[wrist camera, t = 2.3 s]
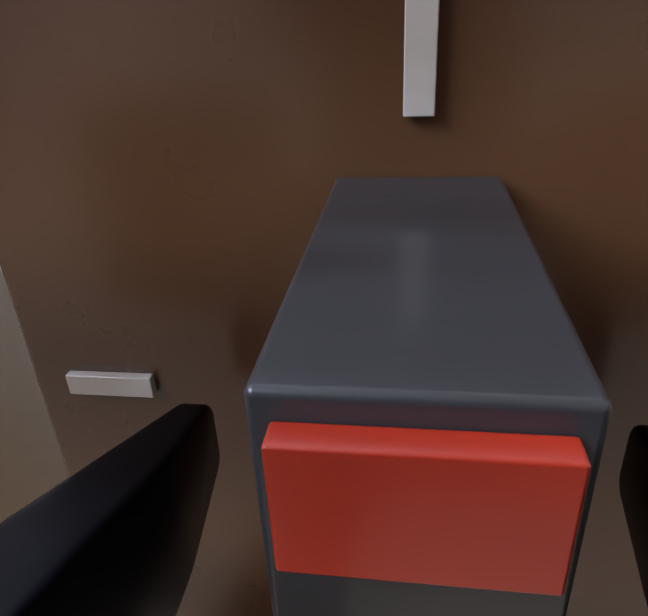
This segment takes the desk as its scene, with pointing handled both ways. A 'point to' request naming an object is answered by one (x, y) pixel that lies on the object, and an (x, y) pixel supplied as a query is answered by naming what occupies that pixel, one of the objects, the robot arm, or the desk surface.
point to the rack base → (303, 207)
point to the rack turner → (423, 412)
